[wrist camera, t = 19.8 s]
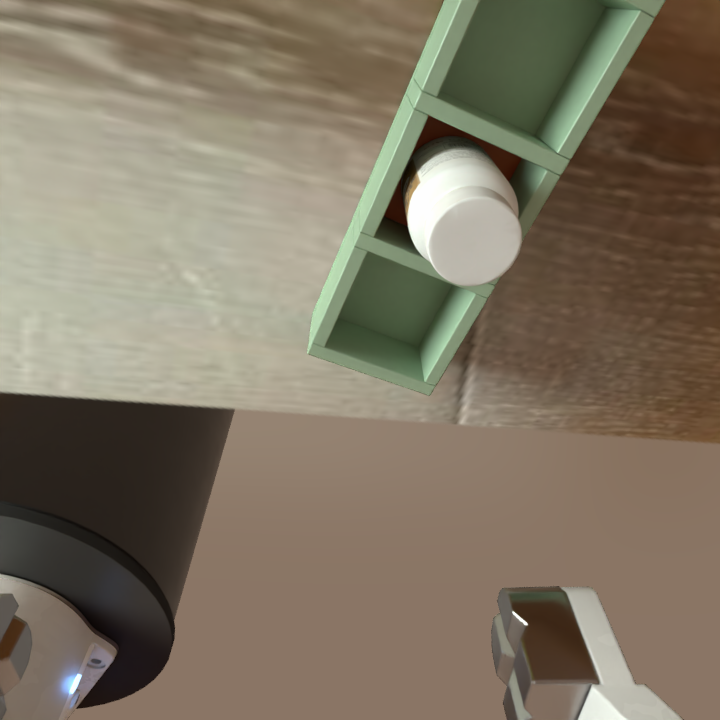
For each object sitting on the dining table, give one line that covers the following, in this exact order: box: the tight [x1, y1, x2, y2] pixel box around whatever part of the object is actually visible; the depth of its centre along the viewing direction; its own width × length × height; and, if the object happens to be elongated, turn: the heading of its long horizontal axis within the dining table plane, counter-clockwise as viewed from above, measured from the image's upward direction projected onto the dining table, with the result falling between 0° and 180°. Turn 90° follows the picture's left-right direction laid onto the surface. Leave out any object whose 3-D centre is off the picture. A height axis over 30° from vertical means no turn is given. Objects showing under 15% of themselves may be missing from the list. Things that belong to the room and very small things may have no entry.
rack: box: [307, 0, 666, 396], centre depth 26 cm, size 19×7×4 cm, turn 157°
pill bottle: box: [401, 136, 522, 286], centre depth 24 cm, size 4×4×8 cm
